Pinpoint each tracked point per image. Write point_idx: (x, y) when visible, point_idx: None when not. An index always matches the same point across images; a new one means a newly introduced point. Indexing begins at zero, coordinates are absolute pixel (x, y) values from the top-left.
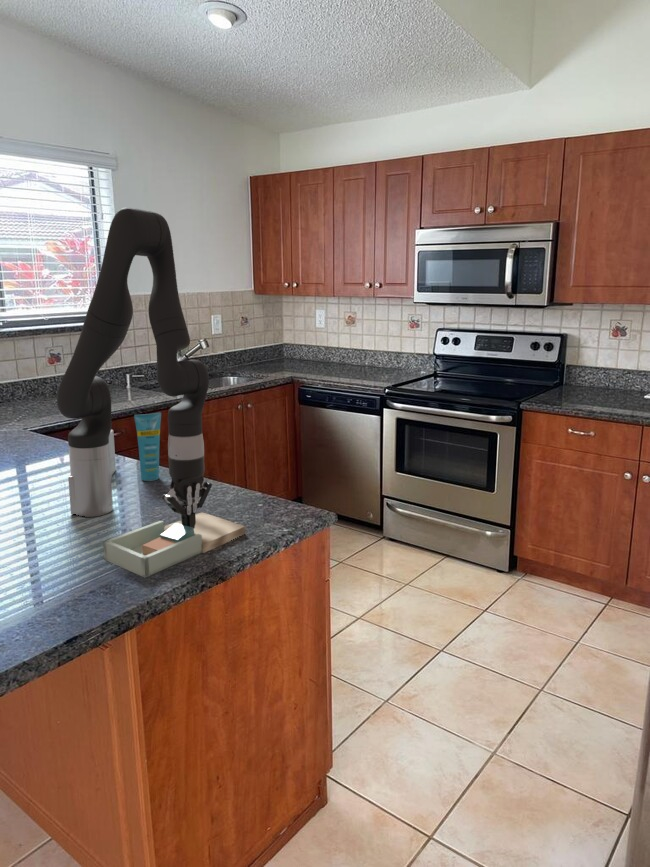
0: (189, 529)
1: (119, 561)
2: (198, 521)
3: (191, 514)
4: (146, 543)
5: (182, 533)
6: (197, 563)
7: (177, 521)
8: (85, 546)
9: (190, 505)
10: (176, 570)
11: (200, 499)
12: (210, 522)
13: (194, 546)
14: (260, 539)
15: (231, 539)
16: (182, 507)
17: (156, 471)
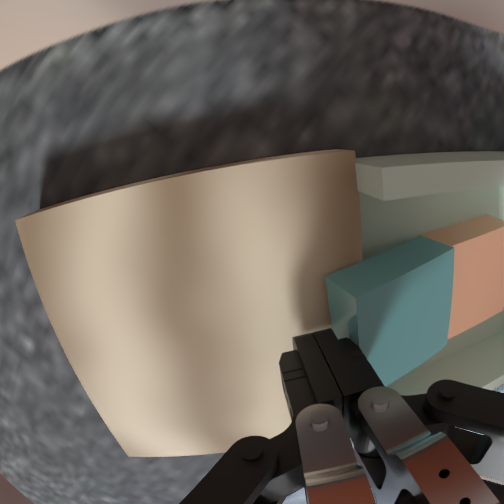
0: (377, 295)
1: None
2: (186, 411)
3: (345, 395)
4: (492, 314)
5: (415, 284)
6: (409, 86)
7: None
8: None
9: (388, 447)
10: (481, 110)
11: (251, 501)
12: (141, 375)
13: (405, 158)
14: (20, 114)
15: (122, 186)
16: (471, 417)
17: None
